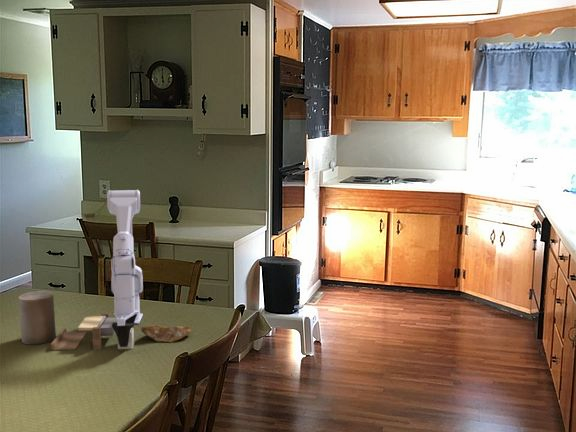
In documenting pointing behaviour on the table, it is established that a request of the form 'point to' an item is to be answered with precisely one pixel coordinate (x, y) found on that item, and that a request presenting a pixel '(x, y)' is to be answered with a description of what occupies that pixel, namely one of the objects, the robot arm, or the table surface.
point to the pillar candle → (37, 317)
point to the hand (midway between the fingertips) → (125, 341)
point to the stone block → (131, 340)
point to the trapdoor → (98, 324)
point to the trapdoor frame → (76, 338)
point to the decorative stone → (166, 332)
